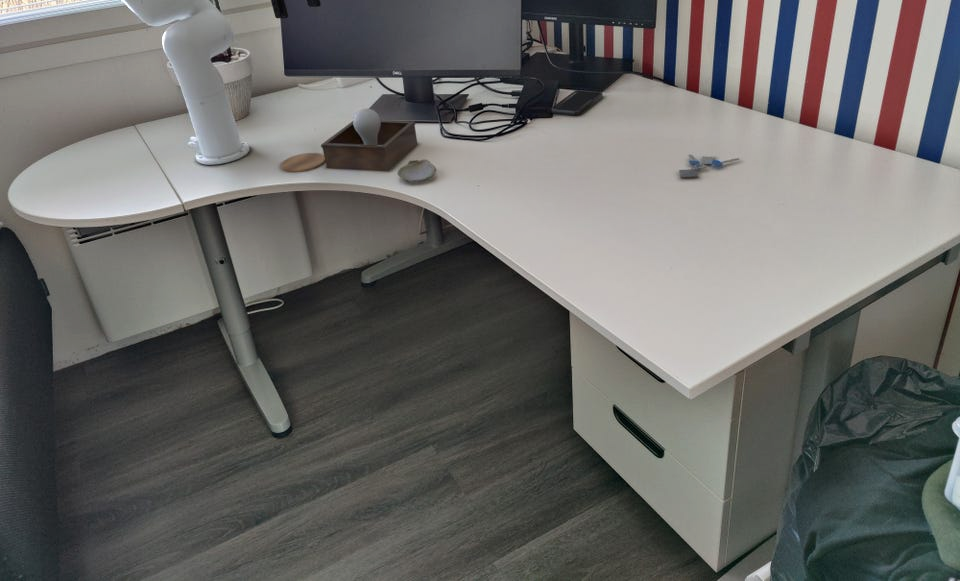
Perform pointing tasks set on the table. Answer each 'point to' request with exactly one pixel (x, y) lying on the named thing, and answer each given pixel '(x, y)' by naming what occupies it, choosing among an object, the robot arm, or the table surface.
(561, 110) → the phone
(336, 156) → the wooden frame
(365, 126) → the lightbulb
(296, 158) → the coaster
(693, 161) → the key chain
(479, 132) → the table surface
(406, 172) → the seashell
